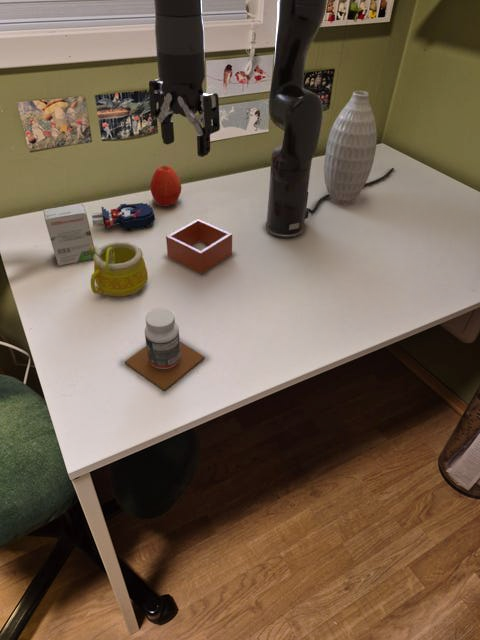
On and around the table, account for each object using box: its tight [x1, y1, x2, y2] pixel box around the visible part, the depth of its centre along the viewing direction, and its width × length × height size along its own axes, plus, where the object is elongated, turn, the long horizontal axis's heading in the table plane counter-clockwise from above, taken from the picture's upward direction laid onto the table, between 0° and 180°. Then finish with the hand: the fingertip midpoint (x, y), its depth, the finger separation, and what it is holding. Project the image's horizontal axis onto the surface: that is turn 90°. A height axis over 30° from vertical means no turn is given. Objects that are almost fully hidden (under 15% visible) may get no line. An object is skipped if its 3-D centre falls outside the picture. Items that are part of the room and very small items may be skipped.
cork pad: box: [124, 341, 206, 392], centre depth 83 cm, size 10×10×1 cm
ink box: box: [42, 203, 96, 267], centre depth 103 cm, size 9×5×12 cm, turn 113°
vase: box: [323, 90, 378, 205], centre depth 122 cm, size 13×13×28 cm
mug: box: [90, 241, 148, 297], centre depth 95 cm, size 13×11×12 cm
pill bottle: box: [144, 307, 181, 369], centre depth 80 cm, size 6×6×10 cm
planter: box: [165, 218, 233, 275], centre depth 107 cm, size 11×11×6 cm
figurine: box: [91, 202, 156, 232], centre depth 117 cm, size 9×4×15 cm
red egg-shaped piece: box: [149, 164, 182, 207], centre depth 124 cm, size 8×8×11 cm
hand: (185, 149), depth 84 cm, fingers open, 8 cm apart
